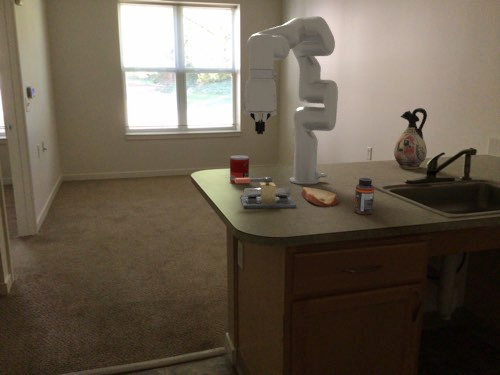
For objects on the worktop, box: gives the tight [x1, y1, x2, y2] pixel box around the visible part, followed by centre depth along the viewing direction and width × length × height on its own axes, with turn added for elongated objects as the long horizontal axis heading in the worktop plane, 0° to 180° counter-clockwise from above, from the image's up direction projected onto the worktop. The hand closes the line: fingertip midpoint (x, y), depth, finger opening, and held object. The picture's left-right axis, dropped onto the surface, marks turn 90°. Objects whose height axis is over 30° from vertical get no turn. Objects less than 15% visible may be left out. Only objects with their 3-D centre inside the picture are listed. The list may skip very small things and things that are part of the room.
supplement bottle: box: [353, 177, 375, 215], centre depth 146 cm, size 6×6×11 cm
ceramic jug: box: [393, 107, 428, 170], centre depth 221 cm, size 17×15×30 cm
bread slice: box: [301, 186, 340, 208], centre depth 163 cm, size 18×18×4 cm
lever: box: [235, 176, 273, 184], centre depth 154 cm, size 13×3×1 cm, turn 103°
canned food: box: [229, 154, 250, 185], centre depth 186 cm, size 8×8×11 cm
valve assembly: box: [239, 182, 297, 209], centre depth 157 cm, size 18×14×8 cm
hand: (259, 133), depth 144 cm, fingers closed
